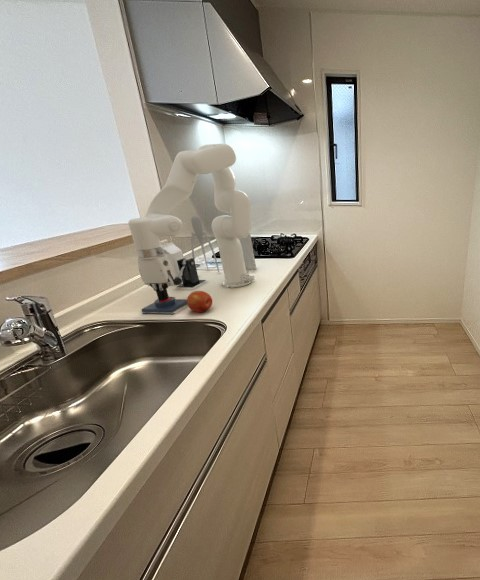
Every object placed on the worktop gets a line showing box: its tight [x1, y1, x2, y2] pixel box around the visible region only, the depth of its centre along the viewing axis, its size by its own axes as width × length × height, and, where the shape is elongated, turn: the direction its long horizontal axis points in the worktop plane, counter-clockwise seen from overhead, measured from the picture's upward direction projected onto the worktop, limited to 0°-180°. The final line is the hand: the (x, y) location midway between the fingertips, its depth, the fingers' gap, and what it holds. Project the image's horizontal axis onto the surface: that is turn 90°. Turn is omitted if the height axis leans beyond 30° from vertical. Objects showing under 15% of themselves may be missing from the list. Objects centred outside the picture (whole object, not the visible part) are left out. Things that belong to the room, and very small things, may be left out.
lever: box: [173, 258, 189, 286], centre depth 139 cm, size 13×4×4 cm
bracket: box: [176, 257, 207, 289], centre depth 144 cm, size 10×8×13 cm
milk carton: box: [161, 241, 185, 280], centre depth 147 cm, size 7×7×19 cm
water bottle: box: [239, 233, 257, 271], centre depth 165 cm, size 9×8×25 cm
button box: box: [140, 296, 187, 316], centre depth 121 cm, size 12×10×4 cm
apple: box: [186, 290, 213, 313], centre depth 118 cm, size 8×8×8 cm
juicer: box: [190, 214, 220, 273], centre depth 157 cm, size 10×9×30 cm
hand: (163, 299), depth 119 cm, fingers closed
